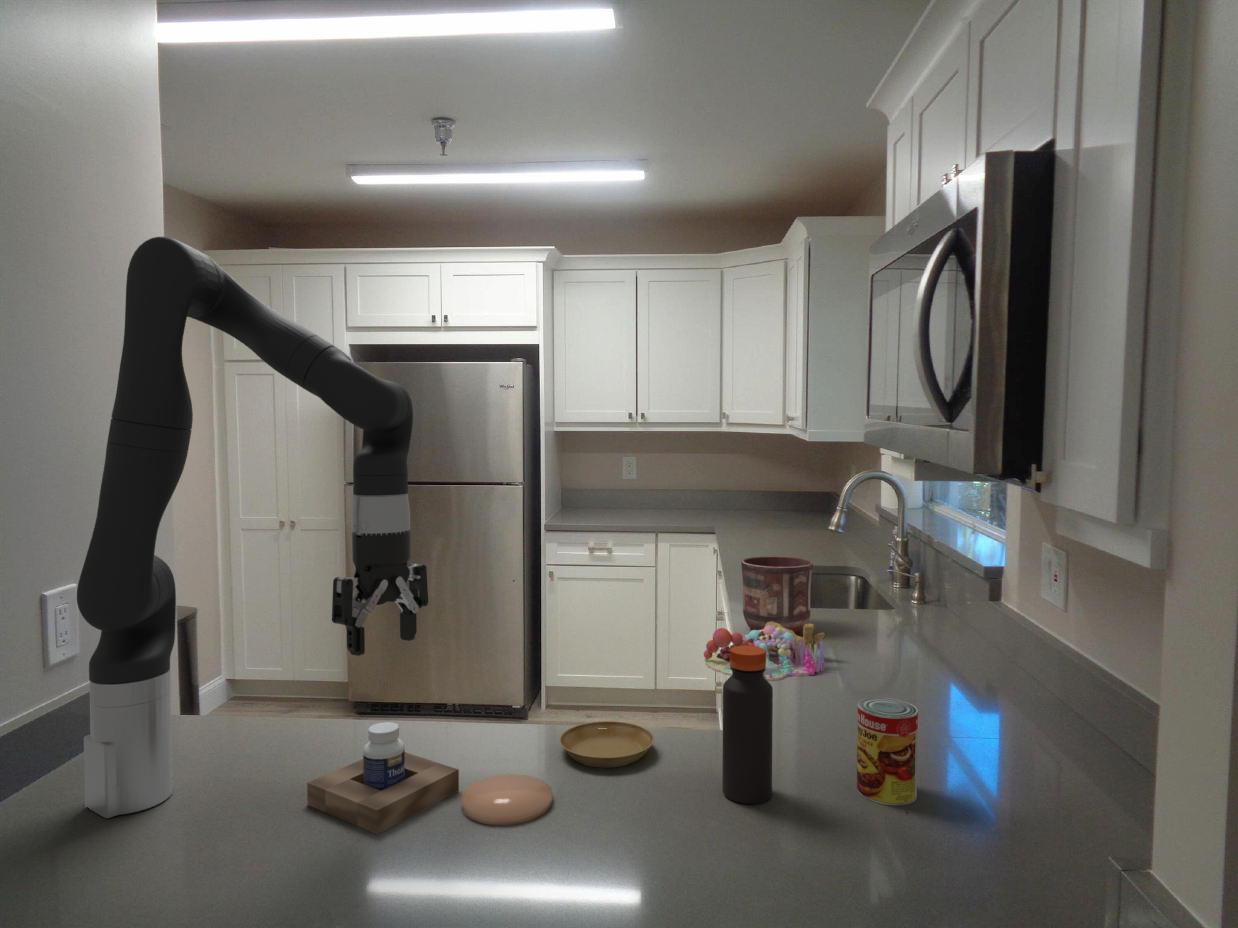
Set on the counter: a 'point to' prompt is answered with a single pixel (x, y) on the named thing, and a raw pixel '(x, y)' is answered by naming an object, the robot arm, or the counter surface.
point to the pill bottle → (383, 756)
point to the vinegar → (747, 728)
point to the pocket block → (382, 793)
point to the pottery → (776, 591)
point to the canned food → (887, 750)
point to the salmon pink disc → (506, 799)
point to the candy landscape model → (771, 650)
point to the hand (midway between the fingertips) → (383, 646)
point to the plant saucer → (606, 743)
